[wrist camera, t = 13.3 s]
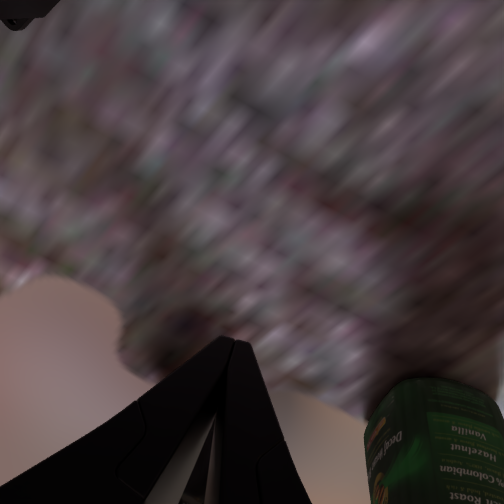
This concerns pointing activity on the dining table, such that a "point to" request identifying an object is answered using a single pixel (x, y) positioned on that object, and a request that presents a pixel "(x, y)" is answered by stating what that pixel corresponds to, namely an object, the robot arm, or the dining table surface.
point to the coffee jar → (435, 445)
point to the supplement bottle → (199, 474)
